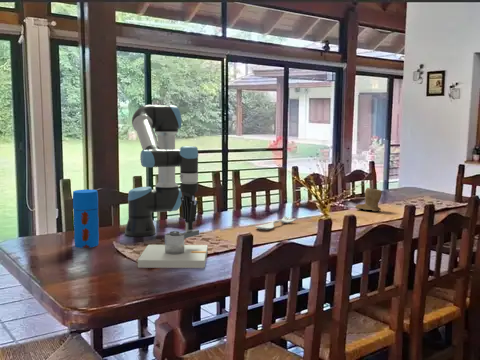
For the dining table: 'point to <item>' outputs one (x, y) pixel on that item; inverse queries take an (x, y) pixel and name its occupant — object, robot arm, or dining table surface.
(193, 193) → the robot arm
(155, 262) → the stand
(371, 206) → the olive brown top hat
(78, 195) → the thermos
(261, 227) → the spoon
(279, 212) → the dining table surface
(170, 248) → the capstan
